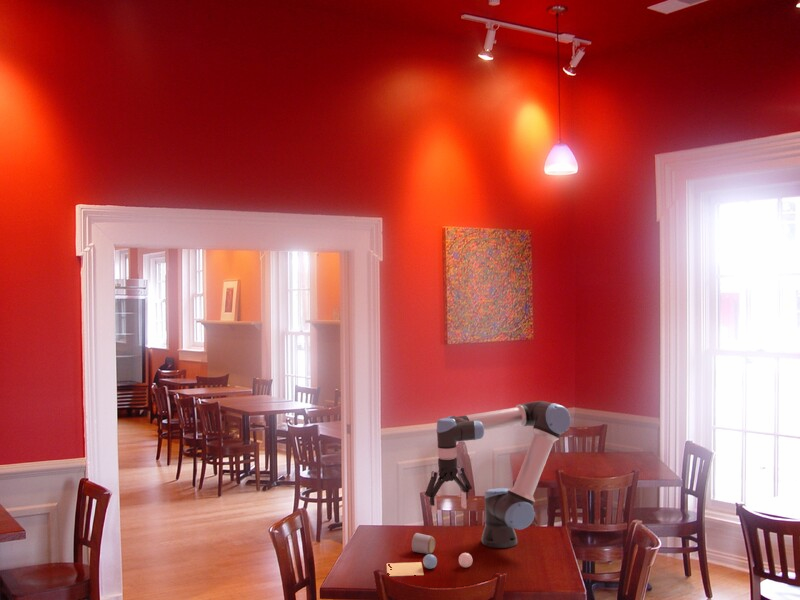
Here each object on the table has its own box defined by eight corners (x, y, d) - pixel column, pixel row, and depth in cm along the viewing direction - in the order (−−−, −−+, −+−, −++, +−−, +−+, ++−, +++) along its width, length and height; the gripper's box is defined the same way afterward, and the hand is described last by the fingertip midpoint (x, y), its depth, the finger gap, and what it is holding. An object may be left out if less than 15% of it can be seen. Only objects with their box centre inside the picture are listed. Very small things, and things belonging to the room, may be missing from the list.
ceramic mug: (429, 556, 319) (429, 537, 319) (411, 554, 323) (410, 535, 323) (439, 549, 329) (439, 530, 329) (421, 546, 332) (421, 528, 332)
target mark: (421, 562, 312) (421, 562, 312) (423, 575, 298) (423, 574, 298) (386, 563, 312) (386, 563, 312) (387, 576, 298) (387, 576, 298)
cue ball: (471, 564, 309) (471, 550, 309) (473, 569, 303) (473, 555, 303) (458, 564, 308) (457, 551, 308) (459, 569, 303) (459, 555, 303)
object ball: (436, 565, 308) (436, 551, 308) (437, 570, 303) (437, 556, 303) (422, 566, 308) (422, 552, 308) (423, 571, 302) (423, 557, 302)
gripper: (469, 452, 320) (471, 503, 320) (415, 460, 308) (417, 513, 309) (478, 455, 313) (480, 507, 313) (424, 463, 302) (426, 518, 302)
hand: (449, 510), depth 311 cm, fingers open, 13 cm apart
